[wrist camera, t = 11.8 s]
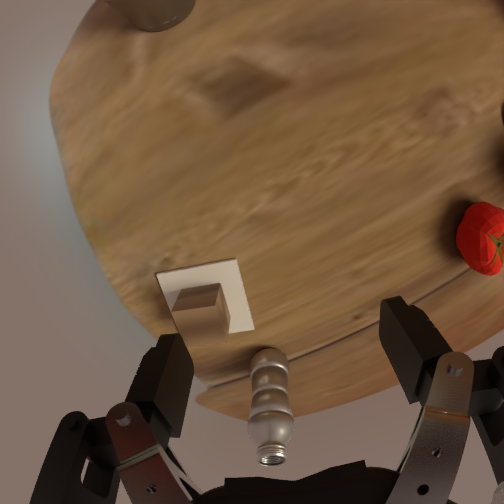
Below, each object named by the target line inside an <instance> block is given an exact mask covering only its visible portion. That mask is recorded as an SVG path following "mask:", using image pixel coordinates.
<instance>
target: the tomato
mask: <svg viewBox="0 0 504 504" xmlns="http://www.w3.org/2000/svg"><path fill="white" fill-rule="evenodd" d="M456 245H457V247H458V249H459V251H460V252H461V254H462V256H463V258H464V260H465V262H466V263H467V264H468V265H469V266H470V267H471V268H472V269H474V270H476V271H477V272H479V273H481V274H484V275H489V276H491V275H495V274H497V273H499V272H500V270H501V268H502V267H503V263H504V210H503V209H501V208H498V207H495V206H493V205H491V204H490V203H487V202H478V203H475V204H472V205H471V206H470V207H469V208H468V209H467V210H466V212H465V215H464V217H463V220H462V221H461V223H460V224H459V226H458V229H457V234H456Z"/></svg>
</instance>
